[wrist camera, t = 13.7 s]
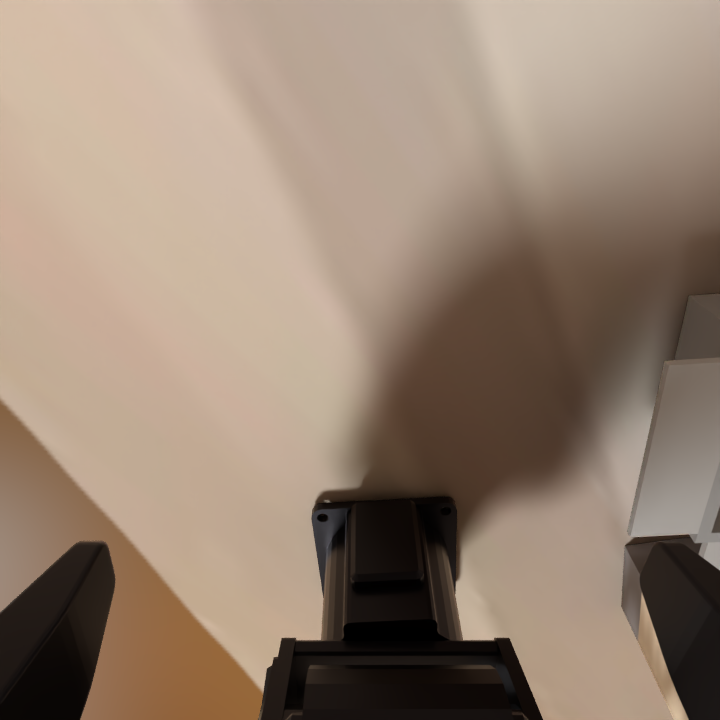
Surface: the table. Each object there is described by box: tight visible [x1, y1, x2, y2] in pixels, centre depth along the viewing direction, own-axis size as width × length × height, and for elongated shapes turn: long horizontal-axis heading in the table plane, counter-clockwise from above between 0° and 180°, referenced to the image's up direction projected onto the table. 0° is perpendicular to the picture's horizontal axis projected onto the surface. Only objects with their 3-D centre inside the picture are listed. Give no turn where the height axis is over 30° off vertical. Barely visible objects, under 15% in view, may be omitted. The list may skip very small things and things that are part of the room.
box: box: [621, 537, 702, 720], centre depth 24 cm, size 4×4×9 cm
